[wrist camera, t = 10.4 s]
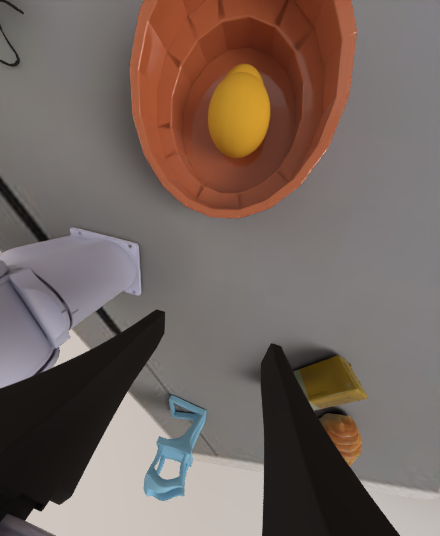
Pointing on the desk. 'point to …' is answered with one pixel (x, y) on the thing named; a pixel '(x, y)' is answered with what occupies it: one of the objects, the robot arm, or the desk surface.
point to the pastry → (343, 435)
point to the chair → (175, 453)
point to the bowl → (214, 72)
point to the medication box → (330, 383)
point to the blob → (239, 112)
